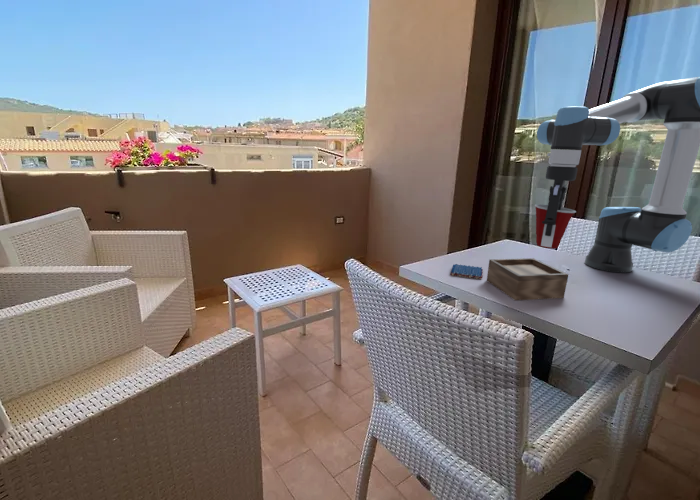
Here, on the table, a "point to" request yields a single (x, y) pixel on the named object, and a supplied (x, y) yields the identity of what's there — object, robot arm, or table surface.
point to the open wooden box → (526, 279)
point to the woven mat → (467, 271)
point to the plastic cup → (561, 224)
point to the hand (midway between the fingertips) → (548, 243)
